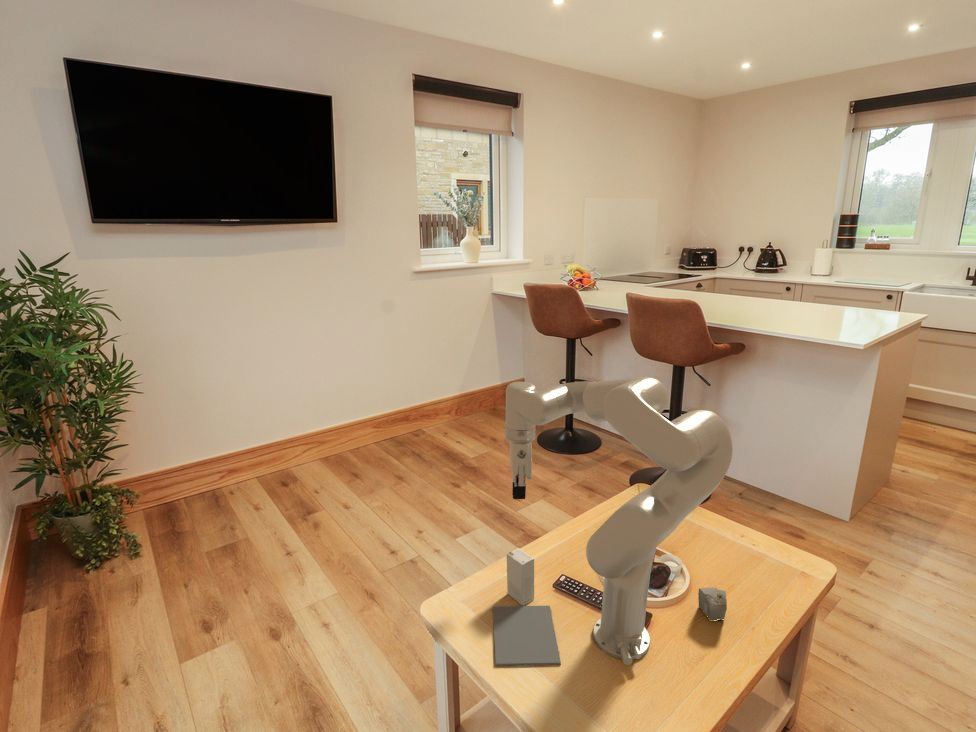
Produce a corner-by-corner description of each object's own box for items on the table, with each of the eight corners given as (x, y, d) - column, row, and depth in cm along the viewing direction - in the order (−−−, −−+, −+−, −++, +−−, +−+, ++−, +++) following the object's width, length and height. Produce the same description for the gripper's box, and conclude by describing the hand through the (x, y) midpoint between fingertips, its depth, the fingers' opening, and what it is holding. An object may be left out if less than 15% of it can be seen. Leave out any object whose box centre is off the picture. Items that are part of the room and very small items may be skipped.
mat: (560, 664, 113) (560, 662, 112) (495, 666, 112) (495, 663, 112) (549, 607, 129) (549, 605, 129) (492, 608, 128) (493, 606, 128)
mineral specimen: (685, 605, 129) (695, 577, 127) (717, 609, 130) (727, 581, 128) (700, 627, 122) (711, 597, 120) (734, 631, 123) (744, 602, 121)
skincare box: (534, 599, 132) (536, 558, 128) (521, 607, 129) (522, 565, 125) (518, 586, 136) (519, 546, 133) (505, 593, 133) (506, 553, 130)
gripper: (539, 444, 122) (536, 513, 127) (532, 419, 137) (530, 482, 142) (507, 444, 122) (506, 513, 127) (503, 420, 137) (502, 482, 142)
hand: (518, 497), depth 135 cm, fingers closed
